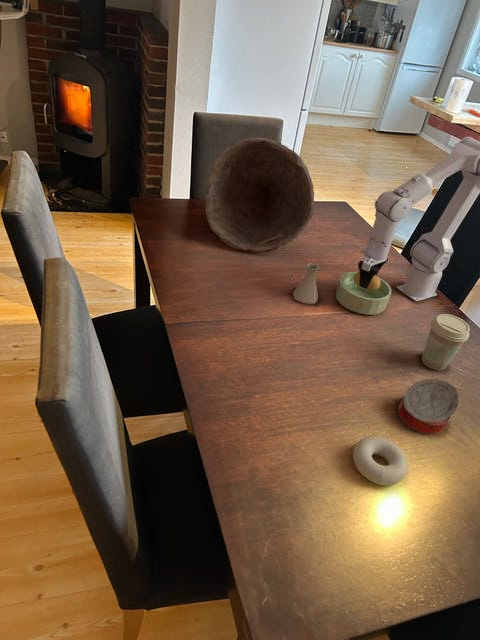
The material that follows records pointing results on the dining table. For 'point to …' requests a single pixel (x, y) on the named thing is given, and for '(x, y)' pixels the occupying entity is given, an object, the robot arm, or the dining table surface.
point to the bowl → (259, 195)
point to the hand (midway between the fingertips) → (366, 283)
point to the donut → (376, 471)
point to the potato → (373, 284)
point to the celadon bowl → (362, 296)
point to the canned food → (428, 405)
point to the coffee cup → (444, 340)
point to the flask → (308, 286)
